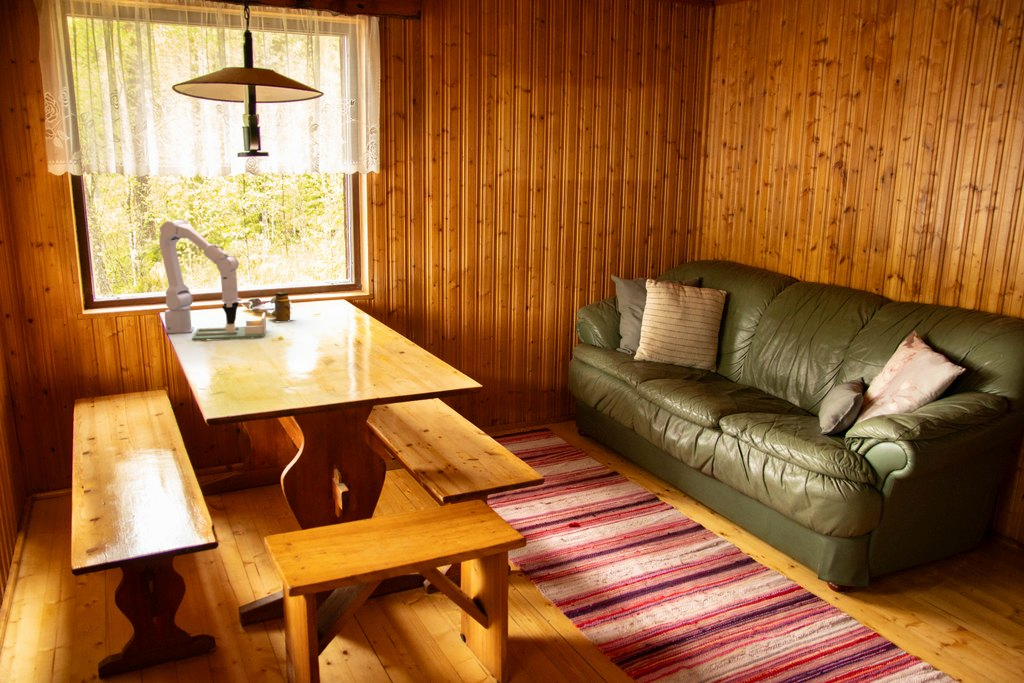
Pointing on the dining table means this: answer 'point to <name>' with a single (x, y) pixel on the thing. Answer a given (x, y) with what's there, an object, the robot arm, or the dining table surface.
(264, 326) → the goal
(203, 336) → the pitch
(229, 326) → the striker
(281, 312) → the condiment
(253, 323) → the ball
